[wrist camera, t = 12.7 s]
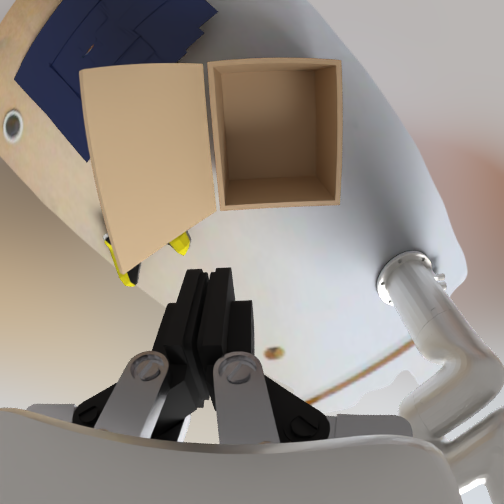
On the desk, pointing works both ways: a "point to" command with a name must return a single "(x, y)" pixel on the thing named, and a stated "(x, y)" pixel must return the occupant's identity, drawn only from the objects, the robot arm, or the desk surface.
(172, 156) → the flap
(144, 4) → the folded navy cloth
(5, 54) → the desk surface
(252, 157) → the carton
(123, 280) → the gaming controller
